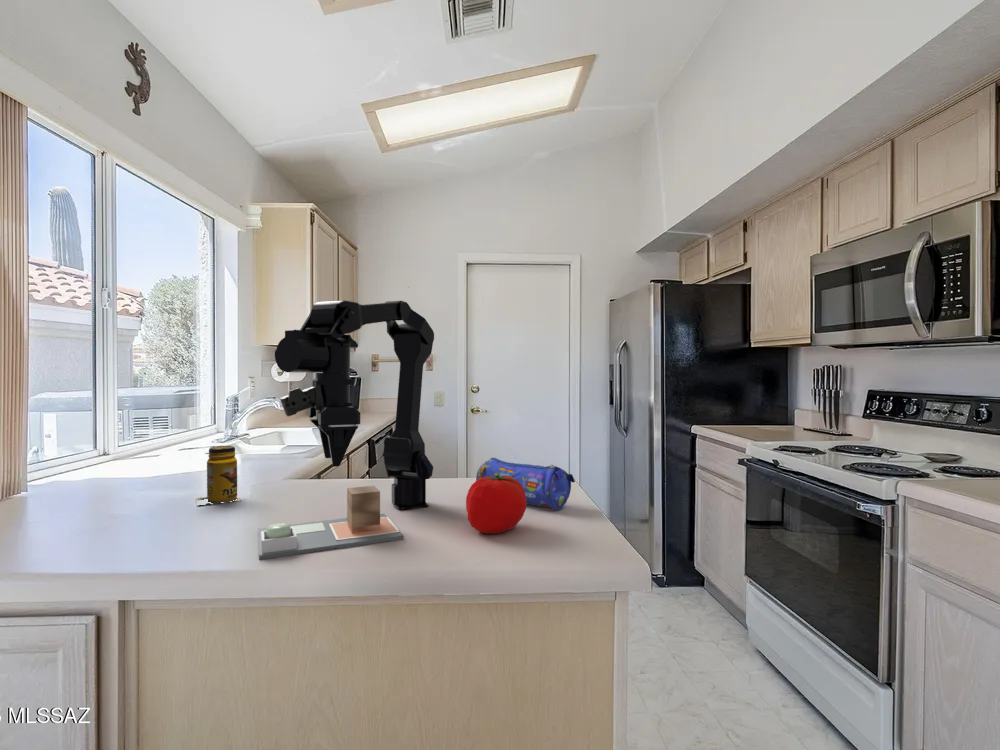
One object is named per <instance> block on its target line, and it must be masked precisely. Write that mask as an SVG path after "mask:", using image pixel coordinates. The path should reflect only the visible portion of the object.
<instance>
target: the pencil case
mask: <svg viewBox="0 0 1000 750" xmlns="http://www.w3.org/2000/svg"><path fill="white" fill-rule="evenodd" d="M484 475H485V476H484ZM496 475H500V476H510V477H512V478H514V479H516V480H517V481H519V482H520V484H521V485H522V487H523V488H524V492H525V496H526V501H527V503H526V505H533V506H538V507H541V508H548V509H552V510H554V511H557V512H558V511H560V510H562V509H563V508H564V506H565V505H566V503H567V502H568V499H569V497H570V494H571V491H572V483H575V482H576V480H575V478H574V475H573V474H572V473H568V472H567V471H566V470H565V469H563V468H561V467H560V466H557V465H554V464H550V465H545V466H544V465H538V464H537V465H534V464H528V463H518V462H517V463H515V462H509V461H505V460H501V459H498V458H496V457H490V458H489V459H488V460H485V462H483V463H482V464H481V465H480V466H479V468H478V470H477V473H476V477H475V482H476V481H477V480H478V479H480V478H482V477H487V476H491V477H496ZM500 476H499V477H500Z"/></svg>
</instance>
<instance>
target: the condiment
mask: <svg viewBox="0 0 1000 750" xmlns="http://www.w3.org/2000/svg"><path fill="white" fill-rule="evenodd" d="M194 499H195V502H196V501H197V500H198V501H199V500H204V499H208V502H211V503H221V502H230V501H233V500H234V501H235V500H236V499H237V500H236V501H238V502H241V499H240V497H239V495H238V459H237V457H236V447H235V446H233V445H217V446H212V447H210V448H208V459H207V461H206V497H205V496H204V497H202V496H201V497H195V498H194ZM230 503H231V502H230Z"/></svg>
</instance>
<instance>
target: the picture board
mask: <svg viewBox="0 0 1000 750" xmlns="http://www.w3.org/2000/svg"><path fill="white" fill-rule="evenodd" d="M267 527H268V526H266V527H259V528H257V531H258V532H257V534H258V537H259V538H258V560H265V559H271V558H279V557H285V556H291V555H292V556H294V555H300V554H305V553H307V552H308V553H314V551H315V552H321V551H320V550H322V551H326V549H329V550H335V549H334V548H336V549H343V548H350V547H355V546H356V547H357V546H363V545H364V546H365V545H369V544H378V543H385V542H391V541H399V540H404V535H403V534H402V532H401V531H400V529H399V528H398V527H397V526H396V524H395V523H394V522H393V521H392V520H391V519H390V518H389V516H387V515H386V514H385V513H380V530H376V531H368V532H360V533H353V534H352V533H351V531H350V530H349V528H348V526H347V517H344V518H334V519H327V520H326V519H325V520H318V521H310V522H301V523H292V524H290V537H282V538H274V539H267ZM342 547H343V548H342Z"/></svg>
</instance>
